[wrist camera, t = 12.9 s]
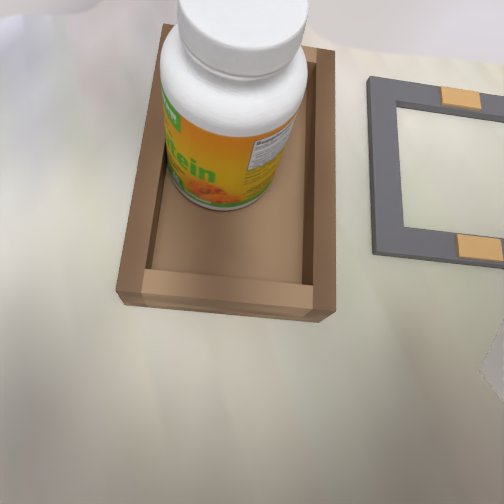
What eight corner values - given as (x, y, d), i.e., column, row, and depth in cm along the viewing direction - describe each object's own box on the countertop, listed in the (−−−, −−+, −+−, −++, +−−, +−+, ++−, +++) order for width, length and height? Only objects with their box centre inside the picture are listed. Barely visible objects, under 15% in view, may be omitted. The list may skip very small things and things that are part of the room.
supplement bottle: (144, 158, 21) (112, -24, 12) (224, 103, 23) (247, -92, 14) (218, 235, 21) (241, 99, 12) (295, 171, 22) (367, 11, 13)
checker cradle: (535, 107, 27) (544, 100, 26) (569, 275, 23) (580, 272, 23) (366, 81, 26) (371, 73, 25) (372, 254, 22) (378, 249, 21)
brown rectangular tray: (321, 84, 25) (334, 50, 23) (318, 322, 20) (335, 310, 18) (165, 61, 24) (163, 23, 22) (124, 304, 20) (115, 290, 17)
